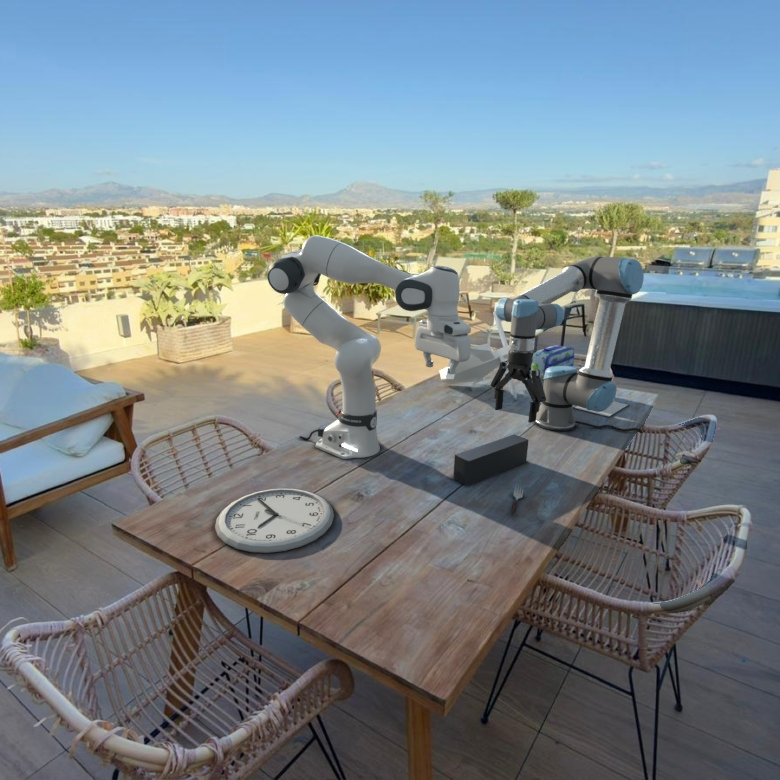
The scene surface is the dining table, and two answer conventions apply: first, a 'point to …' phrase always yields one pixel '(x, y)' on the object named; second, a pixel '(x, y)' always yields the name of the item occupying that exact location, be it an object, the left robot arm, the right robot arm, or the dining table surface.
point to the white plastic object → (481, 363)
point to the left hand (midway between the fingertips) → (440, 370)
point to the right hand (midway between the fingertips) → (514, 415)
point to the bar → (490, 459)
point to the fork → (517, 496)
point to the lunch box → (552, 358)
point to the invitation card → (609, 411)
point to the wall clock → (274, 520)
